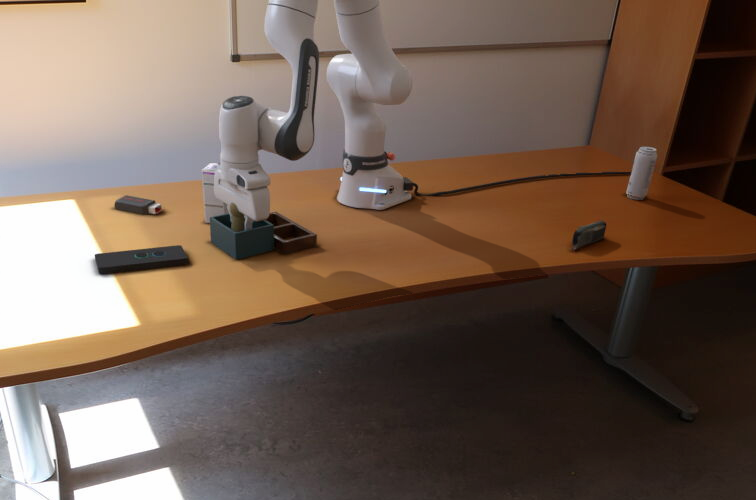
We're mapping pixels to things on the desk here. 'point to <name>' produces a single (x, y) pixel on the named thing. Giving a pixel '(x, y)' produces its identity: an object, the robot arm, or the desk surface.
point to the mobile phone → (588, 234)
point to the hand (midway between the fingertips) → (241, 226)
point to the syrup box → (211, 194)
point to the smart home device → (140, 259)
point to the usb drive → (137, 205)
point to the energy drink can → (641, 173)
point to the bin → (241, 237)
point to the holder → (287, 229)
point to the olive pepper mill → (236, 218)
